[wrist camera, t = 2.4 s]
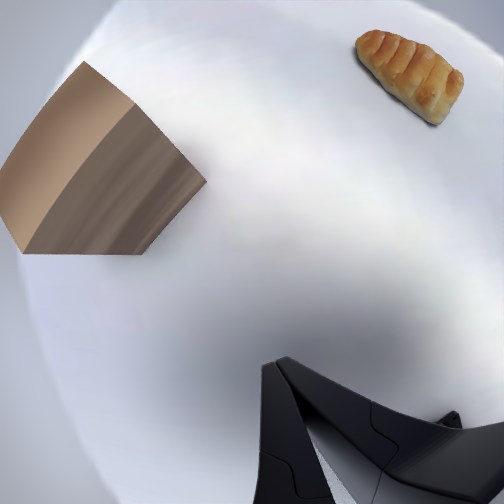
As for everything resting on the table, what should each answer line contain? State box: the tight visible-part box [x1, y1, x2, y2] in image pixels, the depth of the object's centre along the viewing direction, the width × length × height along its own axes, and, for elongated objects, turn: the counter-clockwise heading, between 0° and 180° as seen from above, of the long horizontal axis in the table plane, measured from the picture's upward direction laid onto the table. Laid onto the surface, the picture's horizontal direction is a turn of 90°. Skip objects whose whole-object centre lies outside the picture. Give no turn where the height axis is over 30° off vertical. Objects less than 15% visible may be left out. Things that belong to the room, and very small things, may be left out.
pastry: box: [355, 30, 464, 125], centre depth 18 cm, size 9×7×4 cm
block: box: [0, 61, 207, 255], centre depth 15 cm, size 4×7×12 cm, turn 137°
